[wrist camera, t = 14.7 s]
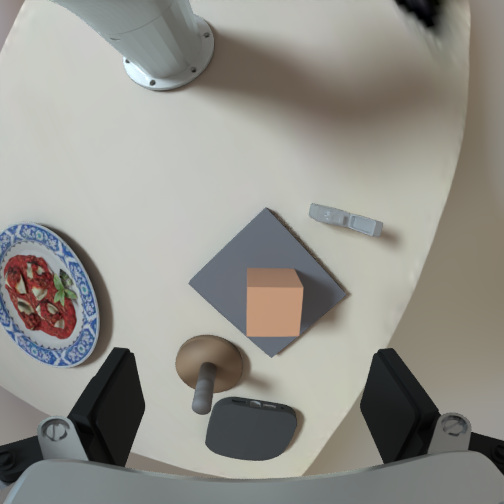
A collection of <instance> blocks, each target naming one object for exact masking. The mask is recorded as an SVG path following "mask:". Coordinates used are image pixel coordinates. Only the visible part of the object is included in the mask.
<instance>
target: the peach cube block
mask: <svg viewBox="0 0 504 504" xmlns="http://www.w3.org/2000/svg"><path fill="white" fill-rule="evenodd" d="M302 300H303V286H302V284H301V282H300V280H299V278H298V276H297V274H296V272H295V270H294V269H289V268H247V309H246V328H247V336H250V337H288V336H299V332H300V322H301V311H302Z"/></svg>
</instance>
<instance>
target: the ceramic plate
mask: <svg viewBox="0 0 504 504" xmlns="http://www.w3.org/2000/svg"><path fill="white" fill-rule="evenodd" d="M0 323H1V325H2V327H3V328H4V330H5V331H6V333H7V334H8V335H9V337H10V338H11V339H12V341H13V342H14V343H15V344H16V345H17V346H18V347H19V348H20V349H21V350H23V351H24V352H25V353H26V354H27V355H29V356H30V357H32V358H33V359H35V360H37V361H39V362H41V363H43V364H45V365H48V366H51V367H56V368H69V367H74V366H77V365H79V364H81V363H82V362H84V361H85V360H86V359H87V358H88V357H89V356H90V355H91V353H92V352H93V350H94V348H95V346H96V343H97V340H98V336H99V328H100V316H99V308H98V303H97V298H96V295H95V291H94V289H93V286H92V283H91V281H90V278H89V276H88V274H87V272H86V270H85V268H84V267H83V265H82V263H81V261H80V260H79V258H78V257H77V256H76V254H75V253H74V252H73V250H72V249H71V248H70V247H69V245H68V244H67V243H66V242H65V241H63V240H62V239H61V238H60V237H59V236H58V235H57V234H55V233H54V232H53V231H51V230H49V229H48V228H46V227H44V226H42V225H39V224H36V223H31V222H19V223H15V224H12V225H10V226H8V227H7V228H5V229H4V230H3V231H2V232H1V233H0Z"/></svg>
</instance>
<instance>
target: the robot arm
mask: <svg viewBox="0 0 504 504" xmlns="http://www.w3.org/2000/svg"><path fill="white" fill-rule="evenodd" d="M49 1H52V2H54V3H56V4H59V5H61V6H63V7H64V8H66V9H68V10H69V11H71V12H73V13H74V14H75V15H77V16H78V17H79V18H81V19H82V20H83V21H84V22H86V23H87V24H88V25H89V26H90V27H91V28H92V29H93V30H95V31H96V32H97V33H98V34H99V35H100V36H102V37H103V38H104V39H105V40H106V41H107V42H108V43H109V44H111V45H112V46H113V47H114V48H115V49H116V50H117V51H118V52H120V53H121V54H122V55H123V64H124V68H125V70H126V72H127V74H128V76H129V77H130V78H131V79H132V80H133V81H134V82H135V83H137V84H138V85H140V86H142V87H144V88H147V89H150V90H159V91H160V90H170V89H174V88H178V87H180V86H183V85H185V84H187V83H188V82H190V81H192V80H193V79H195V78H196V77H197V76H198V75H200V74H201V73H202V71H203V70H204V69H205V68H206V67H207V65H208V63H209V62H210V60H211V57H212V55H213V51H214V37H213V33H212V31H211V29H210V27H209V25H208V24H207V23H206V22H205V20H203V19H202V18H201V17H199V16H197V15H195V14H193V11H192V8H191V5H190V2H189V0H49ZM206 37H208V38H206ZM129 62H130V63H129ZM194 70H196V72H194V73H193V71H194ZM154 83H156V84H155V85H154V86H153V84H154ZM360 408H361V412H362V414H363V416H364V419H365V421H366V423H367V425H368V428H369V430H370V432H371V435H372V437H373V439H374V442H375V444H376V446H377V448H378V451H379V453H380V455H381V458H382V460H383V463H384V464H382V465H377V466H372V467H367V468H362V469H356V470H350V471H344V472H337V473H330V474H322V475H314V476H302V477H290V478H270V479H224V478H203V477H191V476H181V475H172V474H163V473H157V472H150V471H143V470H136V469H131V468H126V467H125V464H126V462H127V459H128V456H129V453H130V450H131V447H132V444H133V442H134V439H135V436H136V433H137V430H138V428H139V425H140V422H141V419H142V417H143V414H144V411H145V401H144V397H143V393H142V389H141V384H140V380H139V375H138V371H137V366H136V361H135V356H134V353H130V350H129V349H127V348H118V347H114V348H113V350H112V351H111V353H110V354H109V356H108V357H107V359H106V360H105V362H104V363H103V365H102V366H101V368H100V369H99V371H98V372H97V374H96V376H94V377H93V378H92V379H91V380H90V382H89V383H88V385H87V386H86V388H85V390H84V391H83V393H82V394H81V396H80V397H79V399H78V401H77V402H76V404H75V405H74V407H73V409H72V410H71V412H70V413H69V415H68V417H67V418H66V417H63V416H50V417H48V418H46V419H44V420H43V421H41V423H40V424H39V425H38V428H37V436H33V437H30V438H27V439H24V440H20V441H17V442H13V443H9V444H6V445H2V446H0V504H504V441H502V440H499V439H495V438H491V437H488V436H484V435H481V434H477V433H474V432H471V424H470V421H469V420H468V419H467V418H466V417H464V416H463V415H461V414H458V413H446V414H443V415H442V416H441V414H440V413H439V412H438V411H439V410H438V408H437V407H436V405H435V404H434V403H433V401H432V400H431V398H430V397H429V396H428V394H427V393H426V392H425V390H424V389H423V388H422V386H421V385H420V383H419V382H418V381H417V379H416V378H415V377H414V375H413V374H412V373H411V371H410V370H409V369H408V367H407V366H406V365H405V363H404V362H403V361H402V359H401V358H400V357H399V356H398V354H397V353H396V351H395V350H394V349H393V348H387V349H379V350H378V352H377V353H375V354H374V355H373V359H372V363H371V367H370V371H369V374H368V378H367V382H366V385H365V389H364V392H363V396H362V399H361V403H360Z"/></svg>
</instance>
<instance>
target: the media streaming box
mask: <svg viewBox="0 0 504 504" xmlns="http://www.w3.org/2000/svg"><path fill="white" fill-rule="evenodd" d="M296 426H297V421H296V416H295V412H294V410H293V409H292V408H290V407H289V406H287V405H283V404H278V403H272V402H266V401H260V400H253V399H247V398H240V397H227V398H224V399H221V400H219V401H218V402H217V403H216V404H215V405H214V408H213V410H212V413H211V417H210V420H209V424H208V429H207V434H206V441H205V444H206V446H207V447H208V448H209V449H210V450H211V451H213V452H214V453H216V454H219V455H222V456H226V457H230V458H235V459H241V460H252V461H263V460H269V459H272V458H275V457H277V456H279V455H281V454H282V453H283V451H284V450H285V449H286V447H287V446H288V444H289V442H290V440H291V438H292V436H293V434H294V432H295V429H296Z"/></svg>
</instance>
